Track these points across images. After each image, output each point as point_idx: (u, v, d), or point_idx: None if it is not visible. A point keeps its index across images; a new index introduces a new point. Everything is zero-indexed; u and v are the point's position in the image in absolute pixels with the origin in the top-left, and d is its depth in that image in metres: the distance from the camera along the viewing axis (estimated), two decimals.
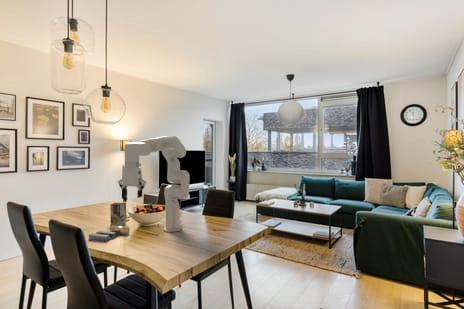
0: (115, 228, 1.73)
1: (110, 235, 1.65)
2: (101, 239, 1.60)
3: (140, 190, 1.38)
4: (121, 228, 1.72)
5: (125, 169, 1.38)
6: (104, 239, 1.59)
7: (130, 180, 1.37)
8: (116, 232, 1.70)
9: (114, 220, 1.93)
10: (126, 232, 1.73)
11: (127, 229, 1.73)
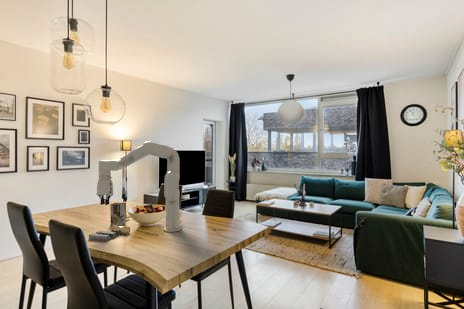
0: (116, 227, 1.74)
1: (110, 235, 1.65)
2: (101, 239, 1.60)
3: (107, 199, 1.76)
4: (122, 227, 1.74)
5: (99, 181, 1.76)
6: (104, 239, 1.59)
7: (103, 190, 1.75)
8: (116, 232, 1.70)
9: (114, 220, 1.93)
10: (127, 231, 1.73)
11: (128, 229, 1.74)
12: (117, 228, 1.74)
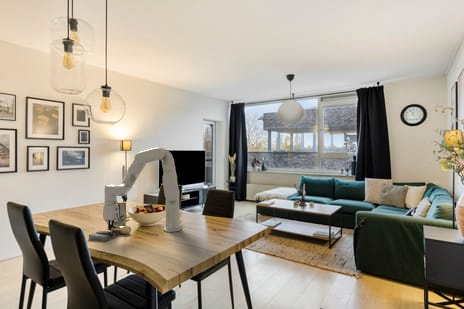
0: (117, 227, 1.73)
1: (110, 235, 1.65)
2: (101, 239, 1.60)
3: (111, 224, 1.75)
4: (123, 227, 1.73)
5: (105, 206, 1.75)
6: (104, 239, 1.59)
7: (109, 215, 1.74)
8: (116, 232, 1.70)
9: None
10: (128, 231, 1.72)
11: (129, 229, 1.73)
12: (117, 229, 1.73)
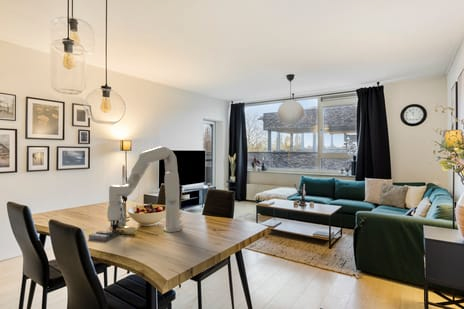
0: (121, 228, 1.72)
1: (110, 235, 1.65)
2: (101, 239, 1.60)
3: (116, 224, 1.74)
4: (128, 228, 1.72)
5: (109, 206, 1.74)
6: (104, 239, 1.59)
7: (113, 215, 1.73)
8: (116, 232, 1.70)
9: None
10: (132, 232, 1.71)
11: (133, 229, 1.72)
12: (122, 229, 1.72)
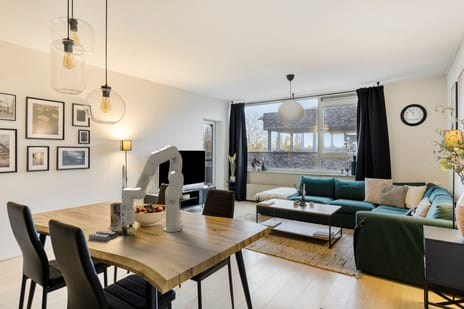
0: (121, 228, 1.72)
1: (110, 235, 1.65)
2: (101, 239, 1.60)
3: None
4: (127, 228, 1.71)
5: None
6: (104, 239, 1.59)
7: None
8: (116, 232, 1.70)
9: (114, 220, 1.93)
10: (132, 232, 1.71)
11: (133, 229, 1.72)
12: (122, 230, 1.71)
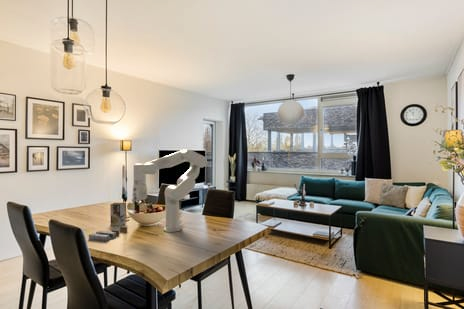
0: (133, 204, 1.69)
1: (110, 235, 1.65)
2: (101, 239, 1.60)
3: None
4: (139, 204, 1.68)
5: None
6: (104, 239, 1.59)
7: None
8: (116, 232, 1.70)
9: (114, 220, 1.93)
10: (144, 208, 1.68)
11: (145, 205, 1.69)
12: (134, 206, 1.68)
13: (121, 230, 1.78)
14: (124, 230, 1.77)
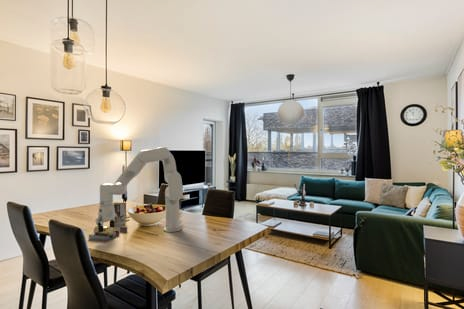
0: None
1: None
2: (101, 239, 1.60)
3: (98, 226, 1.59)
4: (105, 229, 1.62)
5: None
6: (104, 239, 1.59)
7: None
8: (116, 232, 1.70)
9: None
10: (111, 233, 1.63)
11: (112, 230, 1.63)
12: None
13: (121, 230, 1.78)
14: (124, 230, 1.77)
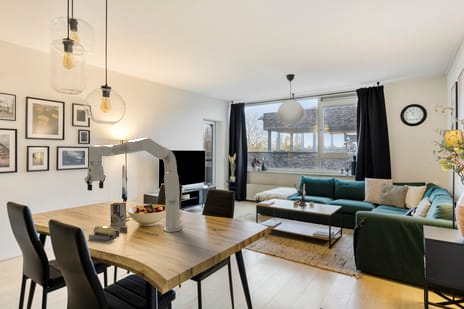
0: (99, 229, 1.63)
1: None
2: (101, 239, 1.60)
3: None
4: (105, 229, 1.62)
5: None
6: (104, 239, 1.59)
7: None
8: (116, 232, 1.70)
9: (114, 220, 1.93)
10: (111, 233, 1.63)
11: (112, 230, 1.63)
12: (100, 230, 1.63)
13: (121, 230, 1.78)
14: (124, 230, 1.77)
